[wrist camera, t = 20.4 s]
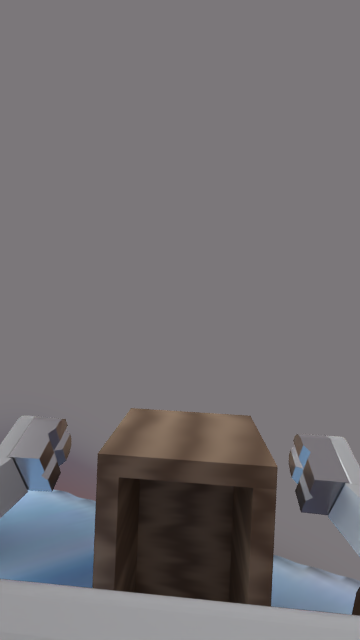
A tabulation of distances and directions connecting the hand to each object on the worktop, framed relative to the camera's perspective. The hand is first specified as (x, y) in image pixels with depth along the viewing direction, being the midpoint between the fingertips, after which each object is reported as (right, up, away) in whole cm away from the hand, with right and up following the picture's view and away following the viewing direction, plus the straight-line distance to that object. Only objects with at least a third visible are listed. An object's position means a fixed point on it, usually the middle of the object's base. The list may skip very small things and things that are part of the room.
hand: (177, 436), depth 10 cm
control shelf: (0, -34, +22) cm, 41 cm away
